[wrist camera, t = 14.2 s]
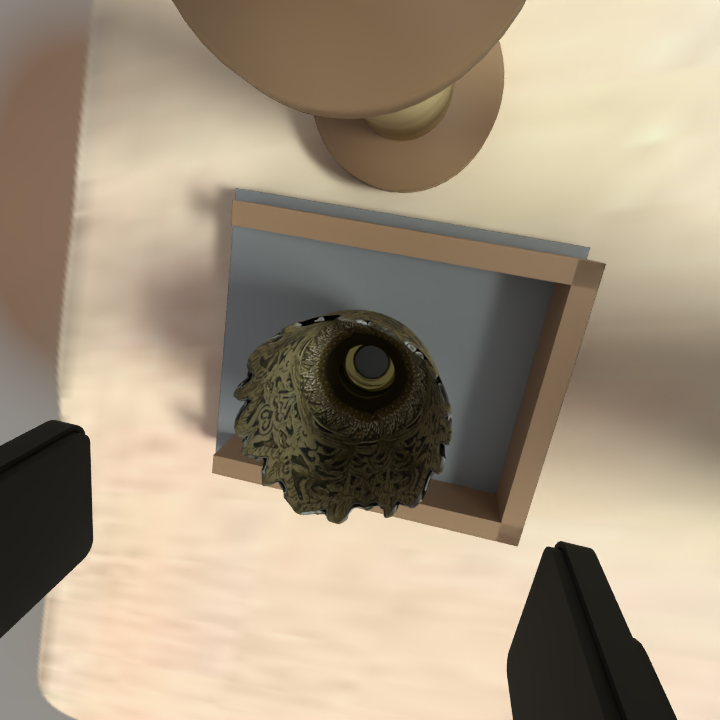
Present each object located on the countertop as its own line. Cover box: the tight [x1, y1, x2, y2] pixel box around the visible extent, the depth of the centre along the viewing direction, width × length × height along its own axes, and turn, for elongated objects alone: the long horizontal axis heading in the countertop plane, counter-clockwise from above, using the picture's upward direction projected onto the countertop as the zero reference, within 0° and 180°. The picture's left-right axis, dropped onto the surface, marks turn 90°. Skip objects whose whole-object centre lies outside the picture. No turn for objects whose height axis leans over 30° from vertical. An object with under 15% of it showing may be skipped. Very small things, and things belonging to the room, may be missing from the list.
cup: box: [233, 310, 452, 524], centre depth 19 cm, size 8×7×8 cm
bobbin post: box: [172, 0, 526, 193], centre depth 14 cm, size 8×8×14 cm
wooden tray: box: [212, 188, 606, 546], centre depth 23 cm, size 14×16×4 cm
